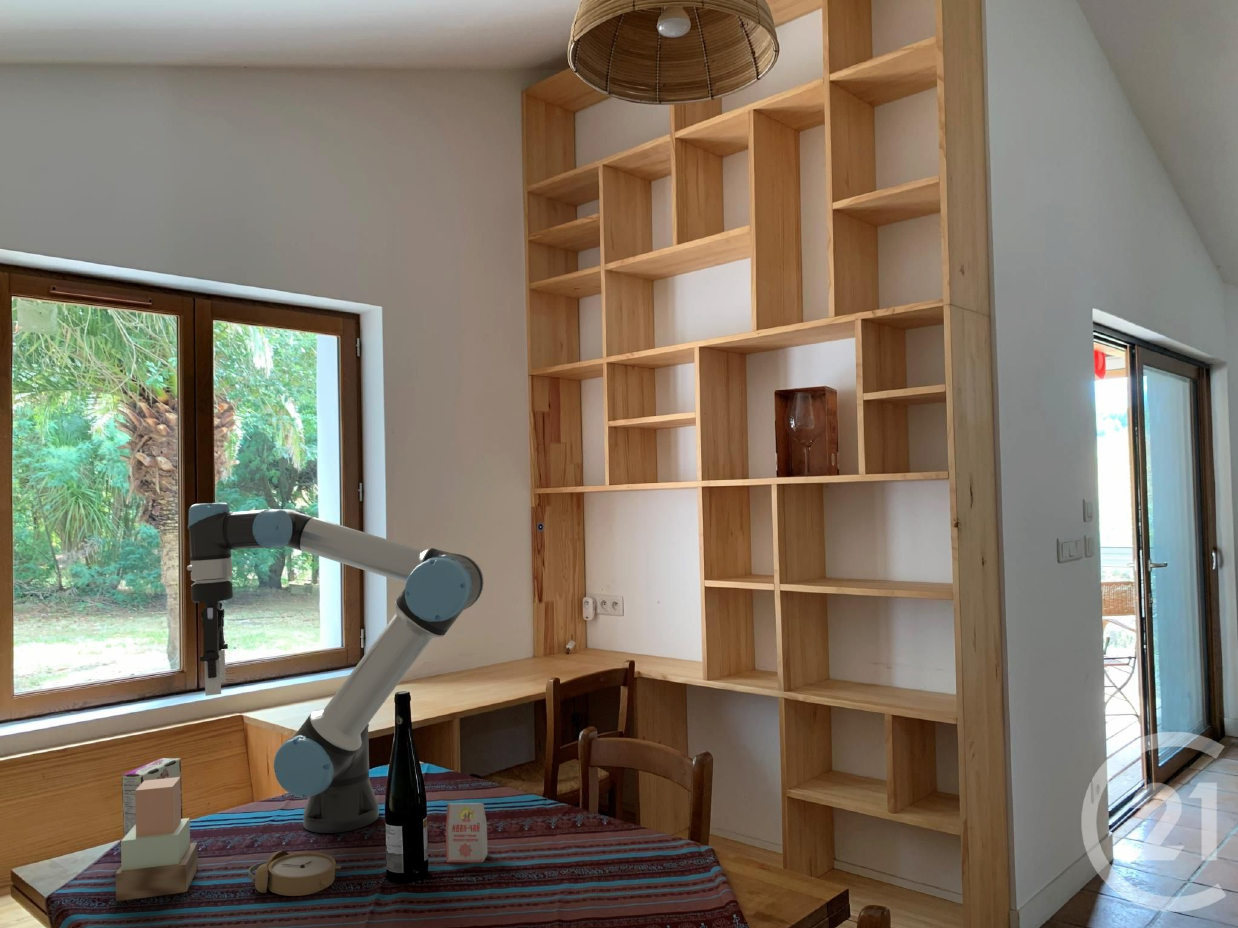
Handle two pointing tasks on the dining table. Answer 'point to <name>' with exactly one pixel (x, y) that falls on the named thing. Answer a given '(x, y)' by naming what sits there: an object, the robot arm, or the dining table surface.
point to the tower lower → (157, 878)
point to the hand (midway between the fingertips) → (216, 688)
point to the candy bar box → (135, 779)
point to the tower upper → (155, 848)
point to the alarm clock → (294, 873)
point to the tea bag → (466, 832)
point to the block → (158, 806)
